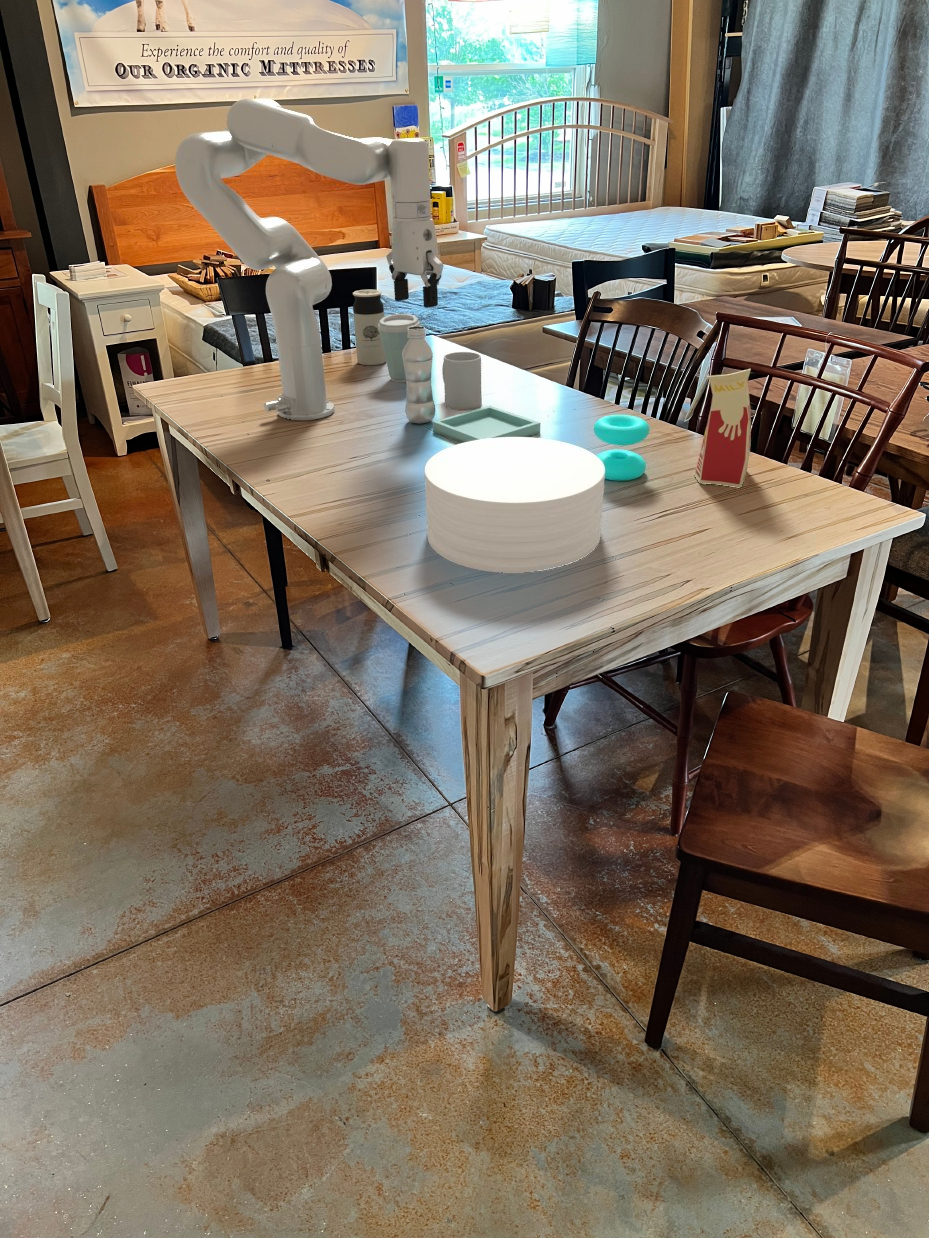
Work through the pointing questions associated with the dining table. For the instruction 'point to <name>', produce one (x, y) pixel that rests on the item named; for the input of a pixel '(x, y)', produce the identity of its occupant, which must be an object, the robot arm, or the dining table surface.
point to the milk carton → (726, 432)
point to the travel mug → (368, 327)
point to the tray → (485, 425)
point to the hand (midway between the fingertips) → (416, 303)
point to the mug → (462, 380)
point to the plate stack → (514, 503)
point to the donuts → (621, 433)
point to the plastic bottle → (418, 376)
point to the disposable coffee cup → (396, 342)
